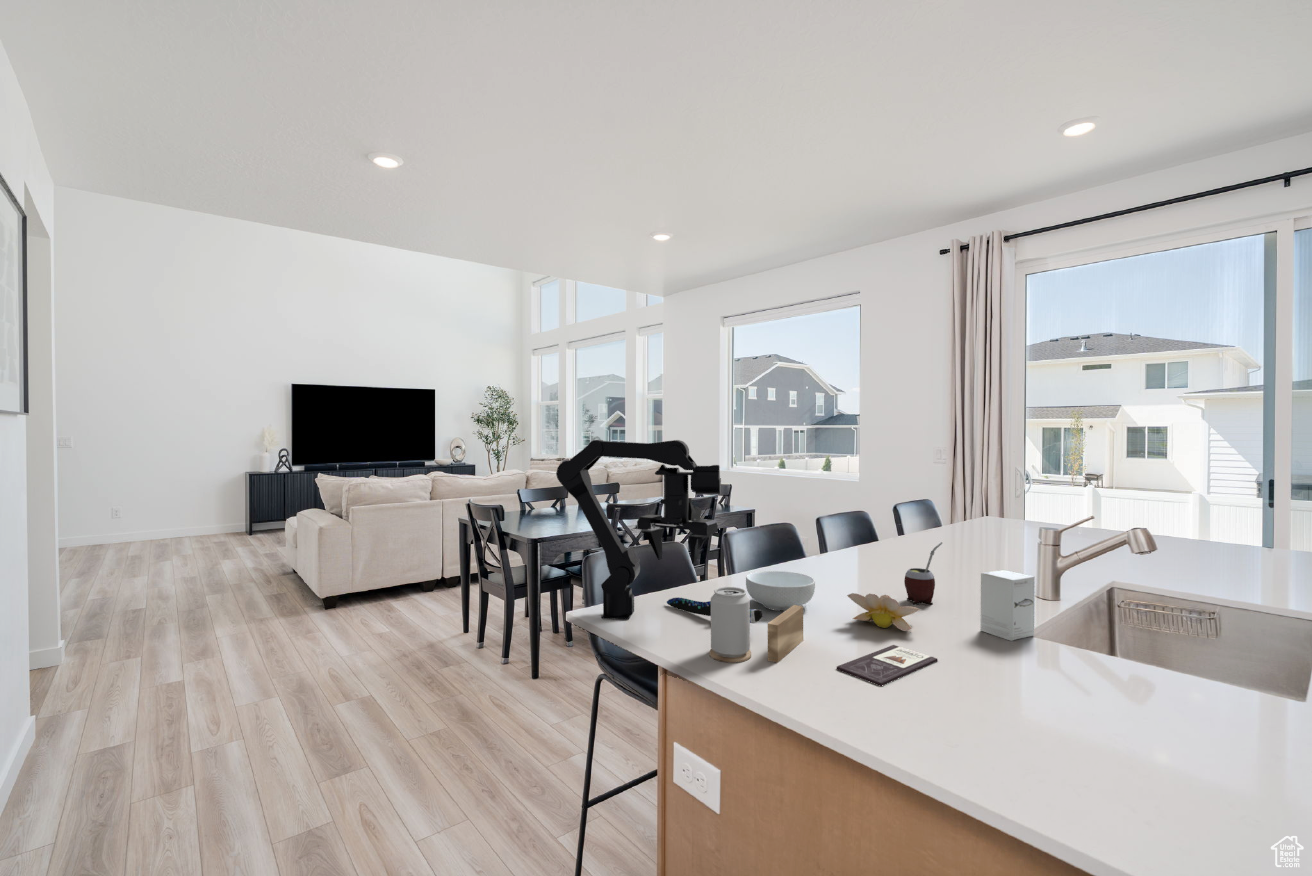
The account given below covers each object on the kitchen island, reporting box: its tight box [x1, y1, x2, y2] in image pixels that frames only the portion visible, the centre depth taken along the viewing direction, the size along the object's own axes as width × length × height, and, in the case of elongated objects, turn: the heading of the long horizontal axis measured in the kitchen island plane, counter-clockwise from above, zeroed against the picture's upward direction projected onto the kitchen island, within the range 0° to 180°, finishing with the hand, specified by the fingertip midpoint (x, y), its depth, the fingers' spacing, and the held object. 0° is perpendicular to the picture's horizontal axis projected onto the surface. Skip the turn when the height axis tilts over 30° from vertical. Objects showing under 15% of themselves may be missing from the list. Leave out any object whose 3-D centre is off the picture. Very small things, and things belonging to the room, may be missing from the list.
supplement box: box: [980, 569, 1036, 642], centre depth 126 cm, size 7×7×13 cm
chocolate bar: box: [836, 644, 938, 687], centre depth 110 cm, size 9×1×18 cm
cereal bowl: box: [745, 570, 816, 611], centre depth 147 cm, size 17×17×7 cm
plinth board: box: [767, 605, 804, 664], centre depth 118 cm, size 2×14×7 cm, turn 147°
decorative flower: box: [846, 592, 922, 632], centre depth 132 cm, size 15×11×10 cm
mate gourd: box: [904, 542, 943, 606], centre depth 150 cm, size 8×8×15 cm
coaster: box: [709, 647, 752, 664], centre depth 116 cm, size 8×8×1 cm
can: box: [710, 586, 751, 658], centre depth 116 cm, size 8×8×12 cm
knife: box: [666, 597, 764, 624], centre depth 137 cm, size 31×3×4 cm, turn 37°
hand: (676, 561), depth 138 cm, fingers open, 9 cm apart
